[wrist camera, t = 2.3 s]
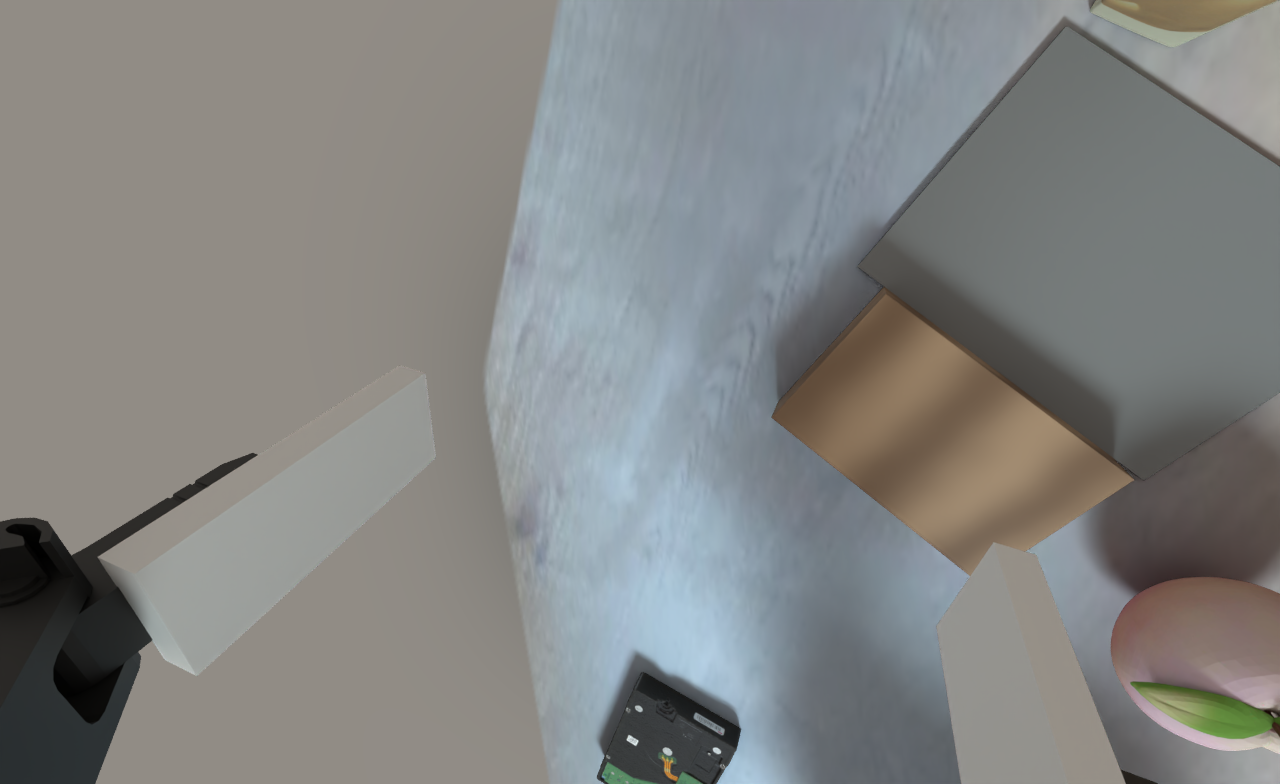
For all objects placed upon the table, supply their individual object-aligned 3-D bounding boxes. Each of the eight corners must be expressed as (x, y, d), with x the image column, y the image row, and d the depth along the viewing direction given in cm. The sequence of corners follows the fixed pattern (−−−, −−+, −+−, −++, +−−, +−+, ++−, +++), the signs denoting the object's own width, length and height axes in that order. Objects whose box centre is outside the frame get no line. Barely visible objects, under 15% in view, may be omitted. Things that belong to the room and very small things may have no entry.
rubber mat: (1445, 279, 24) (1452, 280, 23) (1141, 478, 30) (1143, 480, 30) (1064, 27, 26) (1066, 25, 25) (857, 266, 32) (857, 266, 32)
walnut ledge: (1111, 455, 31) (1134, 479, 28) (969, 554, 35) (978, 582, 33) (884, 286, 32) (885, 293, 30) (778, 402, 37) (771, 417, 34)
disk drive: (642, 664, 51) (605, 756, 57) (631, 687, 48) (594, 781, 55) (744, 721, 48) (694, 811, 55) (737, 749, 46) (686, 840, 52)
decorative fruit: (1294, 536, 29) (1482, 684, 20) (1284, 660, 31) (1452, 845, 22) (1076, 536, 33) (1154, 659, 24) (1081, 646, 35) (1154, 797, 26)
